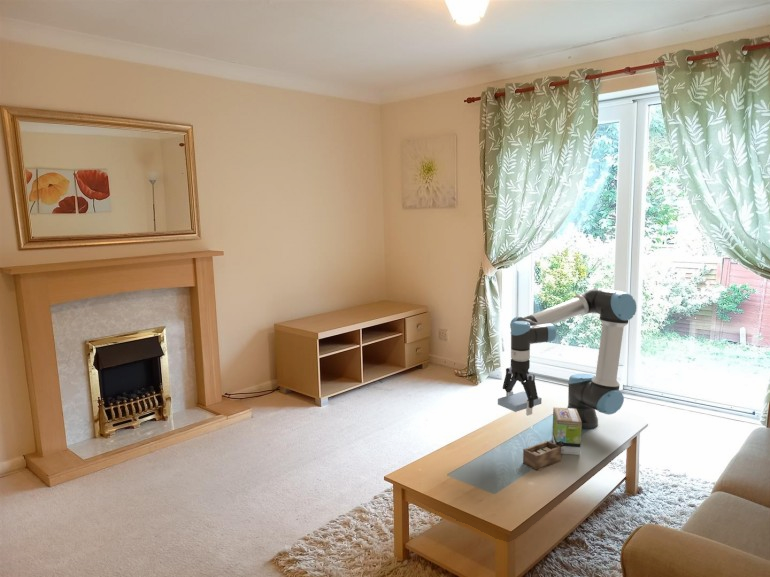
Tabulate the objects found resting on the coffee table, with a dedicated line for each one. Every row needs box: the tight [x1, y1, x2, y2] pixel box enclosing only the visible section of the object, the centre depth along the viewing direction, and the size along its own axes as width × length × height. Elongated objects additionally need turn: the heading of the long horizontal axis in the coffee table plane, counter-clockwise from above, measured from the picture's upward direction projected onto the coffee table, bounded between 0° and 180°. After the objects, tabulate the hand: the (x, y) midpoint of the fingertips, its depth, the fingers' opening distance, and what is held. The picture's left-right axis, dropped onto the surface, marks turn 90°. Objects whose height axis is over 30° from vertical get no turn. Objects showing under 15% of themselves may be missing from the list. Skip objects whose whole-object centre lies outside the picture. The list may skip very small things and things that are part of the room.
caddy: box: [522, 440, 562, 471], centre depth 211 cm, size 14×7×6 cm, turn 122°
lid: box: [497, 390, 542, 413], centre depth 219 cm, size 15×10×3 cm, turn 122°
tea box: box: [551, 407, 583, 456], centre depth 224 cm, size 15×10×15 cm
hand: (519, 410), depth 220 cm, fingers closed on lid, 10 cm apart
